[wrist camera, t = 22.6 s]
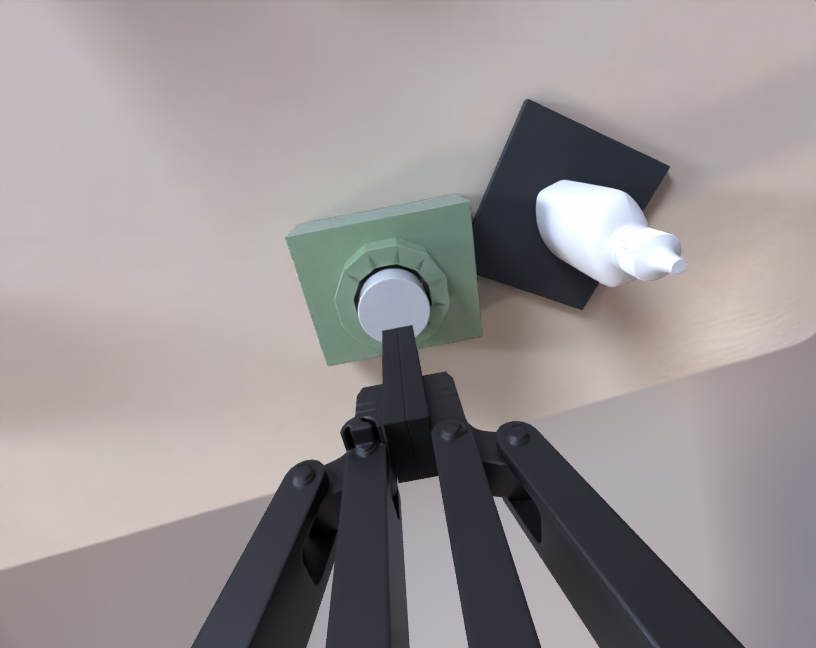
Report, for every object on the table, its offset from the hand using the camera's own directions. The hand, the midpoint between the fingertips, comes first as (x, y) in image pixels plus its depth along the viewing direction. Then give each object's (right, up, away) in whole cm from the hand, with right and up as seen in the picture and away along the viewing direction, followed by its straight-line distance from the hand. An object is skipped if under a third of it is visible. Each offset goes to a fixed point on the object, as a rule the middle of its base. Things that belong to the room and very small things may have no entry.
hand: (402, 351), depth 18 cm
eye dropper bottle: (+12, +9, +9) cm, 18 cm away
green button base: (-1, +5, +11) cm, 12 cm away
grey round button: (-1, +3, +6) cm, 7 cm away
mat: (+12, +10, +10) cm, 18 cm away
